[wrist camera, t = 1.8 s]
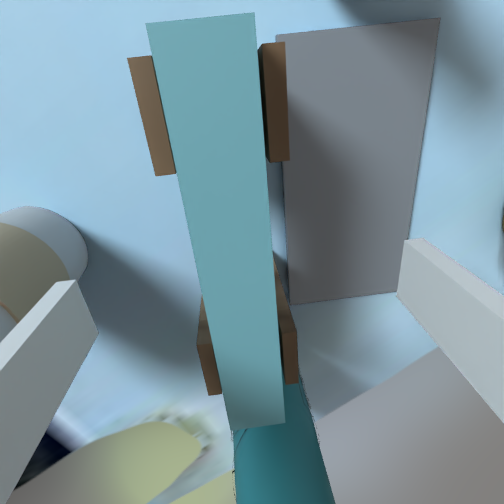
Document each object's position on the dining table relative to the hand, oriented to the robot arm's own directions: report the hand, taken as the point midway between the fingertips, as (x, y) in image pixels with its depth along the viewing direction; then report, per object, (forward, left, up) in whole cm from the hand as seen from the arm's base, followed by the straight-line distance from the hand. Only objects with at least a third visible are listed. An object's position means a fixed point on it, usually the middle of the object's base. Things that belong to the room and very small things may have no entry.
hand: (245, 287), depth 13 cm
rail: (0, 0, -4) cm, 4 cm away
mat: (+9, 0, -12) cm, 15 cm away
